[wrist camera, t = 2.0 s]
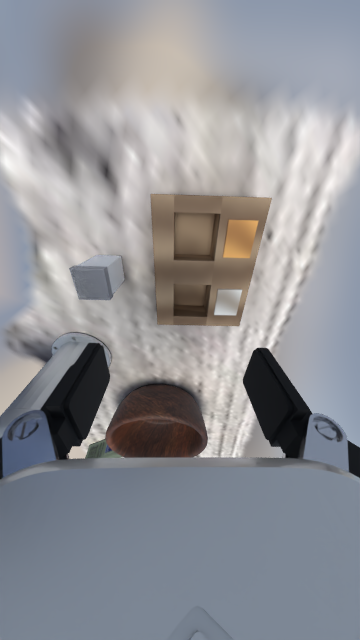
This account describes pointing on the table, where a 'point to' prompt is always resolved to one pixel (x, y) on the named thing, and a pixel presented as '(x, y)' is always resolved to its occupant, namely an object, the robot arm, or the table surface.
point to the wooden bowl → (157, 424)
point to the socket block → (205, 256)
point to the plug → (98, 277)
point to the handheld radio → (101, 451)
